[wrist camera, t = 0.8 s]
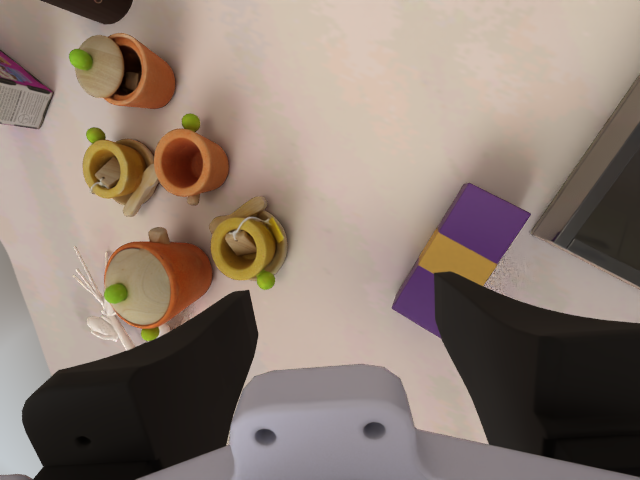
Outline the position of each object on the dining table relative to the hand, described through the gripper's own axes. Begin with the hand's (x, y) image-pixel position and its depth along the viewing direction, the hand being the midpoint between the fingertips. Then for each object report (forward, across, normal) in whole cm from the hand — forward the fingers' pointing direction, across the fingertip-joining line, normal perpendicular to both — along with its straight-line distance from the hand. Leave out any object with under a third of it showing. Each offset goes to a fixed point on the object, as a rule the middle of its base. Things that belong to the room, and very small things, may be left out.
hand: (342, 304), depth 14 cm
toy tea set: (+22, +15, -2) cm, 27 cm away
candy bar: (+15, -9, +5) cm, 18 cm away
